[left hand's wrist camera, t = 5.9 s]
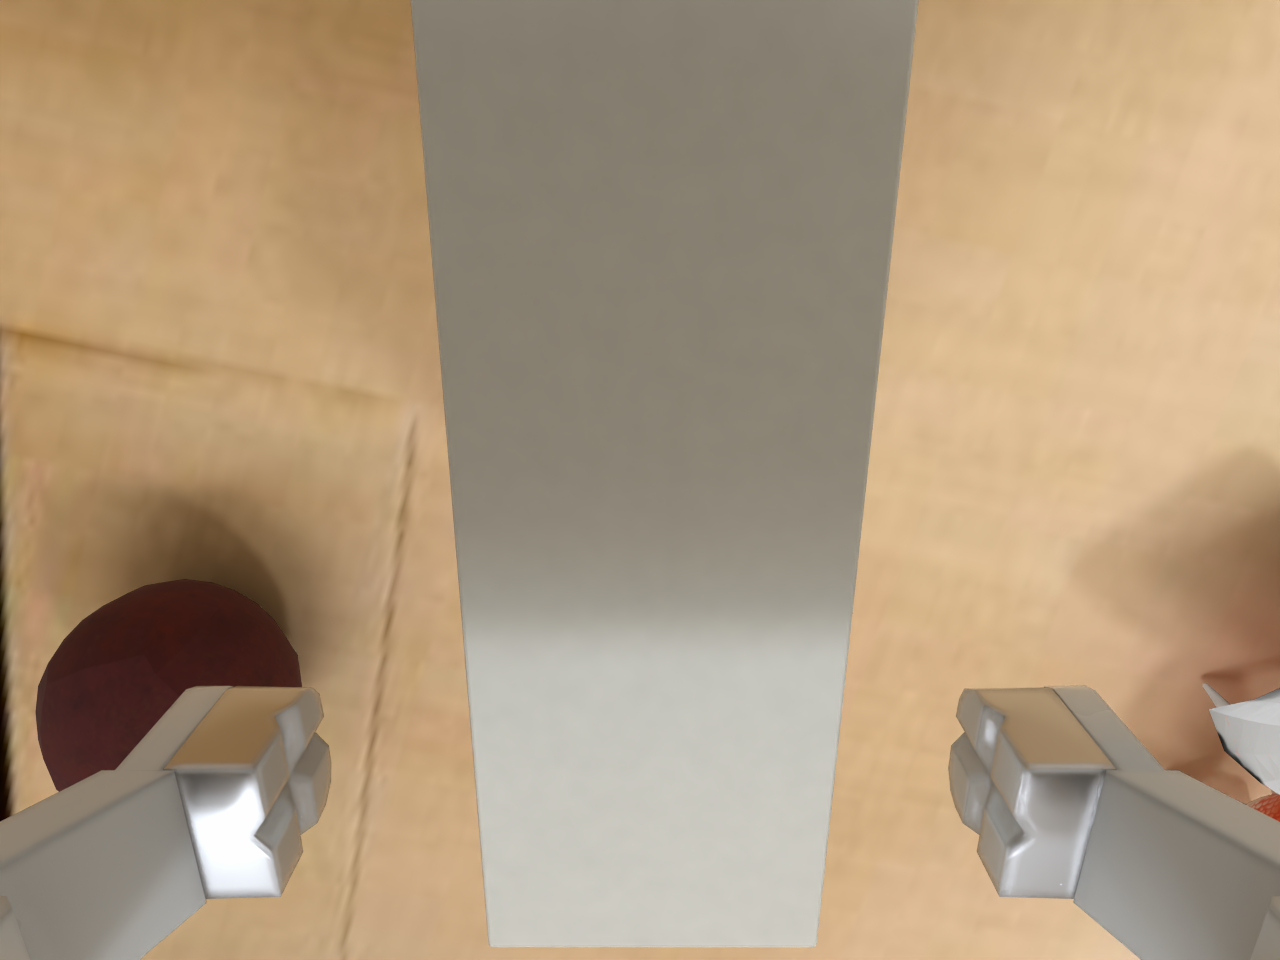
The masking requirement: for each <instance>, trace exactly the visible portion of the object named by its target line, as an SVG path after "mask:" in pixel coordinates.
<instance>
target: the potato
mask: <svg viewBox="0 0 1280 960" xmlns="http://www.w3.org/2000/svg"><path fill="white" fill-rule="evenodd" d="M195 686H232V687H235V686H257V687H302V684H301V677H300V669H299V662H298V655H297V654H296V652H295V651H294V649H293V648H292V646H291V645H290V643H289V642H288V640H287V639H286V637H285V636H284V634H283V633H282V631H281V630H280V628H279V626H278V625H277V623H276V622H275V620H274V619H273V618H272V617H270V616H269V615H268V614H267V613H266V612H265V611H264V610H263V609H262V608H261V607H260V606H259V605H258V604H257V603H255V602H253V601H252V600H250V599H248V598H247V597H245V596H243V595H242V594H240V593H238V592H236V591H235V590H232V589H229V588H226V587H223V586H220V585H217V584H214V583H210V582H203V581H196V580H188V579H183V580H177V581H170V582H163V583H157V584H151V585H146V586H143V587H141V588H139V589H136V590H134V591H132V592H130V593H128V594H126V595H124V596H122V597H120V598H118V599H116V600H114V601H112V602H110V603H108V604H106V605H104V606H102V607H101V608H99V609H98V610H97V611H95V612H94V613H92V614H91V615H89V616H88V617H86V618H85V619H84V620H82V621H81V622H80V623H79V624H78V625H77V627H76V628H75V629H74V630H73V631H72V632H71V633H70V634H69V635H68V636H67V637H66V638H65V639H64V640H63V642H62V643H61V645H60V646H59V648H58V649H57V651H56V652H55V654H54V655H53V657H52V658H51V660H50V661H49V663H48V665H47V667H46V670H45V672H44V674H43V677H42V679H41V681H40V683H39V686H38V694H37V704H36V721H37V732H38V741H39V744H40V748H41V752H42V755H43V759H44V761H45V764H46V766H47V768H48V771H49V773H50V776H51V778H52V780H53V783H54V785H55V787H56V789H57V790H58V791H59V792H60V791H62V790H64V789H66V788H68V787H70V786H72V785H74V784H76V783H78V782H80V781H82V780H84V779H86V778H88V777H90V776H92V775H94V774H96V773H97V772H99V771H101V770H115V769H116V768H117V767H118V766H119V765H120V764H121V763H122V761H123V760H124V759H125V758H126V757H127V756H128V755H129V754H130V752H131V751H132V750H133V749H134V748H135V747H136V746H137V744H138V743H139V742H140V741H141V740H142V739H143V738H144V737H145V735H146V734H147V733H148V732H149V731H150V730H151V729H152V727H153V726H154V725H155V724H156V723H157V722H158V721H159V719H160V718H161V717H162V716H163V715H164V714H165V713H166V712H167V710H168V709H169V708H170V707H171V706H172V705H173V704H174V702H175V701H176V700H177V699H178V698H179V697H180V696H181V695H182V693H183V692H184V691H185V690H186V689H189V688H192V687H195Z"/></svg>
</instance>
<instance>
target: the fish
mask: <svg viewBox="0 0 1280 960" xmlns="http://www.w3.org/2000/svg"><path fill="white" fill-rule="evenodd" d="M1202 686H1203V688H1204V689H1205V691H1206V692H1207V694H1208V695H1209V697H1210V698H1211V700H1212V701H1213V703H1214V704H1215V706H1216V707H1217V708H1212V709H1209V712H1210V714H1211V717H1212V720H1213V722H1214V725H1215V727H1216V730H1217V733H1218V735H1219V738H1220V740H1221V743H1222V746H1223V748H1224V751H1225V752H1226V753H1227V754H1229V755H1230V756H1231V757H1232V758H1233V759H1234V760H1235V761H1237V762H1238V763H1239V764H1240V765H1241V766H1242V767H1243V768H1244V769H1246V770H1247V771H1248V772H1249V773H1250V774H1251V775H1252V776H1253V777H1255V778H1256V779H1257V780H1258V781H1259V782H1260V783H1262V784H1263V785H1265V786H1267V787H1268V788H1270V789H1271V790H1272V795H1268V796H1264V797H1261V798H1258V799H1256V800H1253V801H1251V802H1250V803H1248V804H1246V805H1247V806H1249V807H1251V808H1253V809H1255V810H1257V811H1259V812H1261V813H1263V814H1265V815H1267V816H1269V817H1271V818H1273V819H1275V820H1277V821H1279V822H1280V688H1279V689H1277V690H1275V691H1272V692H1270V693H1268V694H1266V695H1263V696H1261V697H1259V698H1257V699H1254V700H1250V701H1245V702H1240V703H1236V704H1229V703H1228V702H1227V701H1226V700H1225V699H1224V698H1223V697H1222V696H1220V695H1219V694H1218V693H1217V692H1216V691H1215V690H1214V689H1213V688H1212V687H1210V686H1209V685H1208V684H1202Z"/></svg>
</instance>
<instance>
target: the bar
mask: <svg viewBox="0 0 1280 960" xmlns="http://www.w3.org/2000/svg"><path fill="white" fill-rule="evenodd" d="M918 1H919V0H411V12H412V24H413V36H414V48H415V60H416V73H417V85H418V97H419V109H420V121H421V133H422V145H423V157H424V169H425V181H426V193H427V205H428V218H429V230H430V242H431V254H432V266H433V278H434V290H435V302H436V314H437V326H438V338H439V350H440V362H441V375H442V387H443V399H444V411H445V423H446V435H447V447H448V459H449V471H450V483H451V495H452V507H453V520H454V532H455V544H456V556H457V568H458V580H459V592H460V604H461V616H462V628H463V640H464V652H465V664H466V677H467V689H468V701H469V713H470V725H471V737H472V749H473V761H474V773H475V785H476V797H477V809H478V822H479V834H480V846H481V858H482V870H483V882H484V894H485V906H486V918H487V930H488V942H489V945H490V946H491V947H815V946H816V944H817V936H818V927H819V918H820V908H821V899H822V890H823V881H824V871H825V862H826V853H827V844H828V834H829V825H830V816H831V807H832V797H833V788H834V779H835V770H836V760H837V751H838V742H839V733H840V723H841V714H842V705H843V696H844V686H845V677H846V668H847V659H848V649H849V640H850V631H851V622H852V612H853V603H854V594H855V585H856V575H857V566H858V557H859V547H860V538H861V529H862V520H863V510H864V501H865V492H866V483H867V473H868V464H869V455H870V446H871V436H872V427H873V418H874V409H875V399H876V390H877V381H878V372H879V362H880V353H881V344H882V335H883V325H884V316H885V307H886V298H887V288H888V279H889V270H890V261H891V251H892V242H893V233H894V224H895V214H896V205H897V196H898V187H899V177H900V168H901V159H902V150H903V140H904V131H905V122H906V112H907V103H908V94H909V85H910V75H911V66H912V57H913V48H914V38H915V29H916V20H917V11H918Z"/></svg>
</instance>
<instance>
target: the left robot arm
mask: <svg viewBox="0 0 1280 960" xmlns="http://www.w3.org/2000/svg"><path fill="white" fill-rule="evenodd" d="M323 717H324V714H323V709H322V704H321V700H320V695H319V693H318V692H317V691H315V690H314V689H313V688H304V687H257V686H235V687H232V686H195V687H192V688H189V689H186V690H185V691H184V692H183V693H182V695H181V696H180V697H179V698H178V699H177V700H176V701H175V702H174V704H173V705H172V706H171V707H170V708H169V709H168V710H167V712H166V713H165V714H164V715H163V716H162V717H161V718H160V719H159V721H158V722H157V723H156V724H155V725H154V726H153V727H152V729H151V730H150V731H149V732H148V733H147V734H146V735H145V737H144V738H143V739H142V740H141V741H140V742H139V743H138V744H137V746H136V747H135V748H134V749H133V750H132V751H131V752H130V754H129V755H128V756H127V757H126V758H125V759H124V760H123V761H122V763H121V764H120V765H119V766H118V767H117V768H116V769H115V770H101V771H99V772H97V773H96V774H94V775H92V776H90V777H88V778H86V779H84V780H82V781H80V782H78V783H76V784H74V785H72V786H70V787H68V788H66V789H64V790H62V791H60V792H58V793H56V794H54V795H52V796H50V797H48V798H46V799H44V800H42V801H40V802H38V803H36V804H34V805H32V806H30V807H28V808H27V809H25V810H23V811H21V812H19V813H17V814H15V815H13V816H11V817H9V818H7V819H5V820H3V821H1V822H0V960H139V959H141V958H142V957H143V956H144V955H145V954H146V953H148V952H149V951H150V950H151V949H152V948H154V947H155V946H156V945H157V944H158V943H159V942H161V941H162V940H163V939H164V938H165V937H167V936H168V935H169V934H170V933H171V932H172V931H174V930H175V929H176V928H177V927H178V926H180V925H181V924H182V923H183V922H184V921H185V920H187V919H188V918H189V917H190V916H191V915H193V914H194V913H195V912H196V911H197V910H198V909H200V908H201V907H202V906H203V905H204V904H206V899H216V898H250V897H281V895H282V893H283V891H284V889H285V887H286V885H287V883H288V881H289V879H290V877H291V875H292V873H293V871H294V869H295V867H296V865H297V863H298V861H299V859H300V857H301V855H302V853H303V848H302V842H301V836H300V835H301V834H303V833H304V832H305V831H307V830H308V829H310V828H311V827H312V826H314V825H315V824H317V822H318V820H319V818H320V816H321V814H322V812H323V809H324V807H325V805H326V801H327V797H328V792H329V788H330V783H331V758H330V751H329V745H328V744H327V743H326V742H325V741H324V740H323V739H322V738H321V737H320V736H319V735H318V734H317V733H316V732H315V731H316V729H317V728H318V726H319V724H320V722H321V721H322V719H323ZM956 717H957V719H958V721H959V722H960V724H961V726H962V728H963V729H964V731H965V732H964V733H963V734H962V735H961V736H960V737H959V738H958V739H957V740H956V741H955V742H954V743H953V744H952V745H951V752H950V760H949V779H950V790H951V794H952V797H953V801H954V804H955V808H956V810H957V812H958V814H959V816H960V818H961V820H962V822H963V824H965V825H966V826H968V827H969V828H970V829H972V830H973V831H975V832H976V833H977V834H979V835H980V836H979V842H978V848H977V853H978V855H979V857H980V859H981V861H982V863H983V865H984V867H985V869H986V871H987V873H988V875H989V877H990V879H991V881H992V883H993V885H994V887H995V889H996V891H997V893H998V895H999V897H1028V898H1063V899H1074V903H1075V904H1076V905H1077V906H1078V907H1080V908H1081V909H1082V910H1083V911H1084V912H1086V913H1087V914H1088V915H1089V916H1090V917H1091V918H1093V919H1094V920H1095V921H1096V922H1097V923H1098V924H1100V925H1101V926H1102V927H1103V928H1104V929H1106V930H1107V931H1108V932H1109V933H1110V934H1111V935H1113V936H1114V937H1115V938H1116V939H1117V940H1119V941H1120V942H1121V943H1122V944H1123V945H1124V946H1126V947H1127V948H1128V949H1129V950H1130V951H1131V952H1133V953H1134V954H1135V955H1136V956H1137V957H1139V958H1140V959H1141V960H1280V822H1279V821H1277V820H1275V819H1273V818H1271V817H1269V816H1267V815H1265V814H1263V813H1261V812H1259V811H1257V810H1255V809H1253V808H1251V807H1249V806H1247V805H1245V804H1243V803H1242V802H1240V801H1238V800H1236V799H1234V798H1232V797H1230V796H1228V795H1226V794H1224V793H1222V792H1220V791H1218V790H1216V789H1214V788H1212V787H1210V786H1208V785H1206V784H1204V783H1202V782H1200V781H1198V780H1196V779H1194V778H1192V777H1190V776H1188V775H1186V774H1184V773H1183V772H1181V771H1179V770H1165V769H1164V768H1163V767H1162V766H1161V765H1160V764H1159V763H1158V762H1157V760H1156V759H1155V758H1154V757H1153V756H1152V755H1151V754H1150V752H1149V751H1148V750H1147V749H1146V748H1145V747H1144V746H1143V744H1142V743H1141V742H1140V741H1139V740H1138V739H1137V738H1136V737H1135V735H1134V734H1133V733H1132V732H1131V731H1130V730H1129V729H1128V727H1127V726H1126V725H1125V724H1124V723H1123V722H1122V721H1121V720H1120V718H1119V717H1118V716H1117V715H1116V714H1115V713H1114V712H1113V710H1112V709H1111V708H1110V707H1109V706H1108V705H1107V704H1106V702H1105V701H1104V700H1103V699H1102V698H1101V697H1100V696H1099V695H1098V693H1097V692H1096V691H1095V690H1093V689H1091V688H1089V687H1087V686H1085V685H1080V686H1050V687H1044V688H979V689H964V690H963V692H962V694H961V696H960V699H959V703H958V708H957V714H956Z"/></svg>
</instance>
